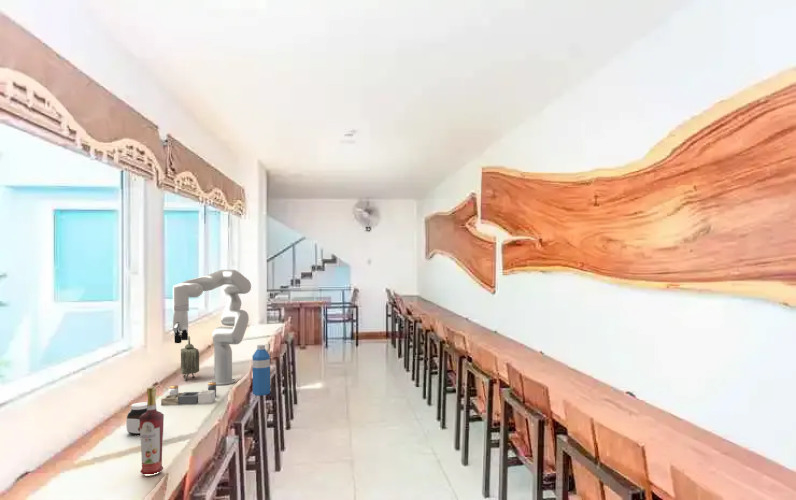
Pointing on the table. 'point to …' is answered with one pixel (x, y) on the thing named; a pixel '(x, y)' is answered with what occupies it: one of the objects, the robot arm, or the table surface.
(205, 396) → the cup
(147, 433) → the liquor
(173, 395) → the cylinder
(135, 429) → the spread jar
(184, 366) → the olive tall ribbed piece
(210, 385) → the black cell
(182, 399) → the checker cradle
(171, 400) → the trough
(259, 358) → the water bottle
